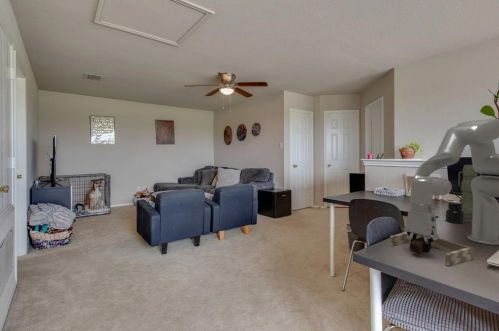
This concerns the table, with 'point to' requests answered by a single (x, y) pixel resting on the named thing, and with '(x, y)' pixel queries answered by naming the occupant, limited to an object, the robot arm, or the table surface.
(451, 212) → the ink bottle
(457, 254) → the beige u-shaped frame
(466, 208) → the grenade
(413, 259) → the table surface
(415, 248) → the brick
